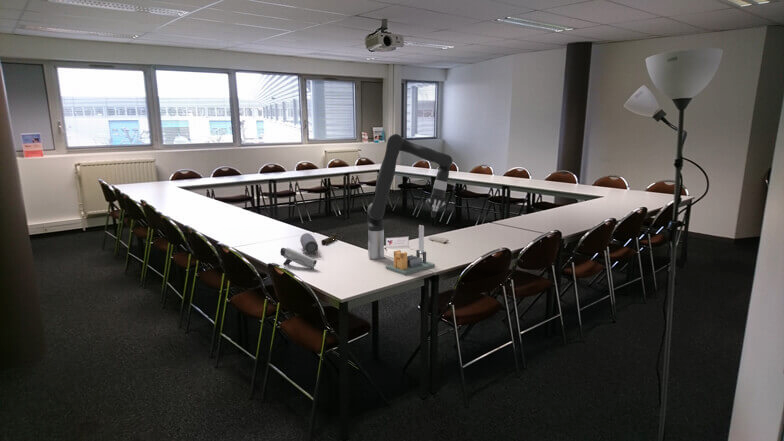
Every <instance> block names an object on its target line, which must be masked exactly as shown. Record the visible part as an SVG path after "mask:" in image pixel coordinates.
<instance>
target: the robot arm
mask: <svg viewBox="0 0 784 441" xmlns="http://www.w3.org/2000/svg"><path fill="white" fill-rule="evenodd" d="M387 138H388V139H387V140H386V147H385V148H386V149H385V153H384V156H383V158H382V159H383V160H382V162H381V165H380V168H379V171H378V174H377V177H376V178H377V179H376V184H375V195H374V197H373V201H372V202H371V203H370V204H369V205H368V207H367V213H366V216H367V217H366V218H367V228H368V241H367V246H368V247H367V251H368V252H367V254H368V255H367V256H368V258H369V259H370V260H381V259H384V258H385V235H384V234H385V233H384V231H385V230H384V220H383V217H384V215H385V212H386V206H387V205H386V204H387V200H388V197H389V193H390V190H391V187H392V185H393V182H394V179H395V178H394V177H395V174H396V169H397V168H396V167H397V160H398V157H399V153H400V152H404V153H408V154H410V155H413V156H416V157H418V158H420V159H421V160H425V161H427V162H431V163H435V164H436V165H437V164H438V170H437V172H436V175H435V176H436V177H435V181H434V183H433V186H432V187H433V188H432V193H431V196H430V197H429V198H428V199H426V200H425V202H426V205H427V207H428V208H429V209H430V210H431V213H430V216H431V218H436V217H437V212H441V211H442V210H444V208H446V207H447V205H448V204H447V203H446V202H445V197H446V196H445V195H446V191H447V186H448V180H449V178H450V176H449V175H450V169H451V166H452V164H453V162H454V161H453V158H452V156H451V155H450V154H446V153H443V152H440V151H437V150H435V149H432V148H430V147H427V146H423V145H420V144H417V143H413V142H412V141H409V140H407V139H405V138H403V137H402V136H401V135H399V134H398V133H393V134H390V135H389V137H387ZM431 204H432V205H431Z"/></svg>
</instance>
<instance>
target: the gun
mask: <svg viewBox="0 0 784 441" xmlns="http://www.w3.org/2000/svg"><path fill="white" fill-rule="evenodd" d="M279 254H280V256H281V257H283V258H285V259H286V260H284V262H283V265H284V266H288V265H290V263H292V262H294V263H296V264H297V265H300V266H302V267H305V268H307V269H310V270H314V268H315V267H316V264H317V260H316V259H315V258H313V257H311V256H308V255H306V254H303V253H301V252H298V251H297V250H294V249H291V248H290V247H287V248H285V247H281V248H280V253H279Z"/></svg>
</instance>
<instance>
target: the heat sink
mask: <svg viewBox="0 0 784 441" xmlns="http://www.w3.org/2000/svg"><path fill="white" fill-rule="evenodd" d="M422 260H423V257H420V258H419V257H416V255H413V254H411V255H407V267H409V268H413V267H417V266H420V265H422Z"/></svg>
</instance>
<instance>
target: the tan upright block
mask: <svg viewBox="0 0 784 441" xmlns="http://www.w3.org/2000/svg"><path fill="white" fill-rule="evenodd" d="M407 256H408V252H407V251H404V252H402V250H399V249H398V250H395V251H393V264H394V267H395V268H396V267H397V268H399V269H401V270H403V269H407Z"/></svg>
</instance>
